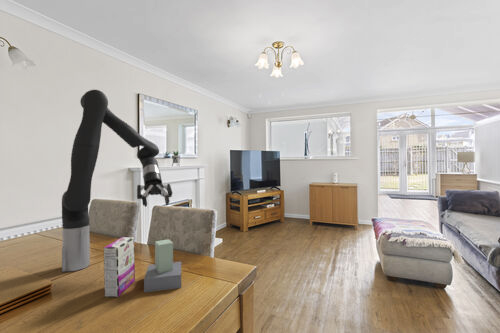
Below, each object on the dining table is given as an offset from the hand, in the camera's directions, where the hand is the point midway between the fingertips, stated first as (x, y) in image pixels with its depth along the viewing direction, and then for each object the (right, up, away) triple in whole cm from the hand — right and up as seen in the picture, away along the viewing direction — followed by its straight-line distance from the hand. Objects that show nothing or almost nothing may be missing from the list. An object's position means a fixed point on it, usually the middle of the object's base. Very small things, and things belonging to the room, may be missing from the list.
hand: (156, 204), depth 103 cm
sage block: (+8, -22, -13) cm, 27 cm away
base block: (+8, -27, -14) cm, 31 cm away
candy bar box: (-6, -26, -18) cm, 33 cm away
